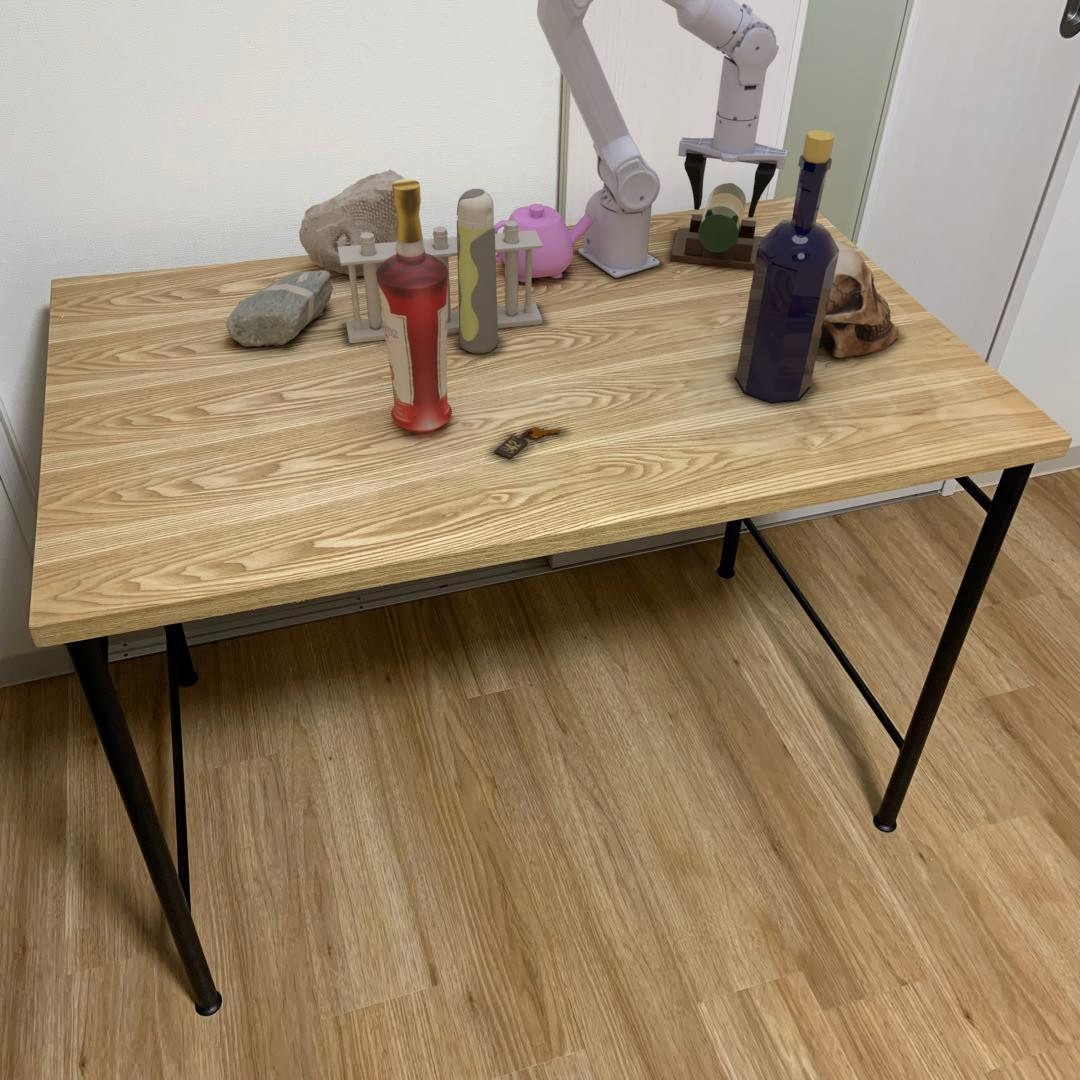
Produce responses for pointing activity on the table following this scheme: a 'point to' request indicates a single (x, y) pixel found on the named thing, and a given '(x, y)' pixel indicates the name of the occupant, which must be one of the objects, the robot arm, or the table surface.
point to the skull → (855, 309)
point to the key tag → (520, 441)
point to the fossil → (351, 220)
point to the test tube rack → (441, 249)
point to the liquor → (415, 320)
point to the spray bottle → (477, 272)
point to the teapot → (545, 240)
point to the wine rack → (735, 257)
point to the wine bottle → (722, 218)
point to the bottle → (790, 290)
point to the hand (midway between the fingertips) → (724, 210)
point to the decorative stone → (280, 309)
